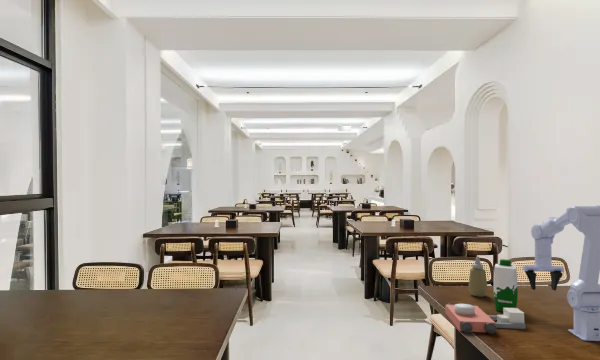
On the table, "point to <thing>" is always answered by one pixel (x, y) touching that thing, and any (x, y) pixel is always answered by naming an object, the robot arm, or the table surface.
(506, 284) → the milk carton
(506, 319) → the white block
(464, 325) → the forklift
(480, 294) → the squeeze bottle
